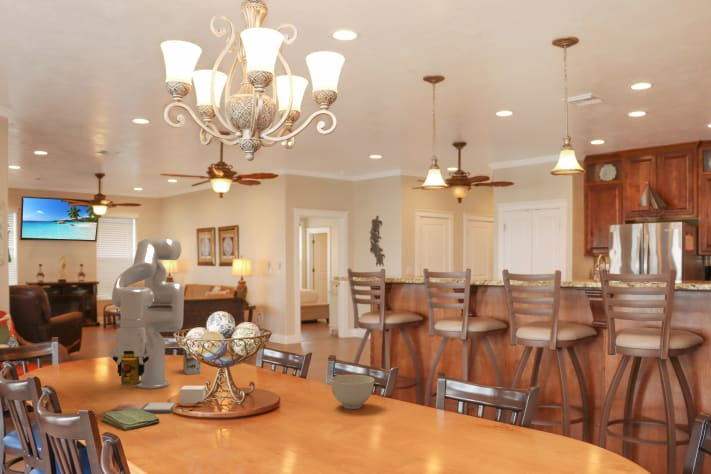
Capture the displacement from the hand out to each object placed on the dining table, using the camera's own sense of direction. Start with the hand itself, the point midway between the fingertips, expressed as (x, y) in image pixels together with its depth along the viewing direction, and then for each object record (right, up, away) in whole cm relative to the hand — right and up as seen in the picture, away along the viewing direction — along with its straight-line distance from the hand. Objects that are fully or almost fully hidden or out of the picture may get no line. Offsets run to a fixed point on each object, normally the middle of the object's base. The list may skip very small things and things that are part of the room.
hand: (131, 374), depth 225 cm
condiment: (0, -3, 0) cm, 3 cm away
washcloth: (+5, -13, -15) cm, 20 cm away
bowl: (+78, -13, +7) cm, 79 cm away
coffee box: (+5, -13, +65) cm, 67 cm away
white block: (+20, -12, +9) cm, 25 cm away
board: (+5, -12, 0) cm, 13 cm away
